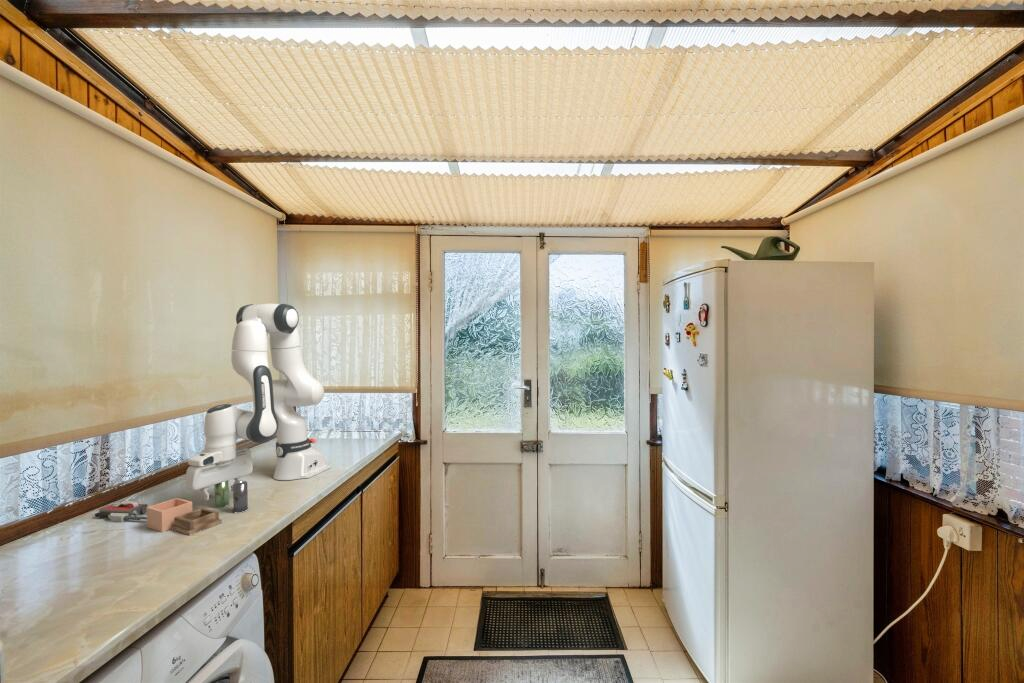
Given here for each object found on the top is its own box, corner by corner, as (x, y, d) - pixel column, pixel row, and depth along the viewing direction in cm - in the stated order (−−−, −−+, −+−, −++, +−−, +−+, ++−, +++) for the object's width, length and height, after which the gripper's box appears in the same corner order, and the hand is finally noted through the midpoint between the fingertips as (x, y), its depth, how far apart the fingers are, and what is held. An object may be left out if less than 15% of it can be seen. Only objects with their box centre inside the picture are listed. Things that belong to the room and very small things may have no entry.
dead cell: (242, 507, 147) (242, 478, 147) (250, 509, 145) (249, 480, 145) (230, 511, 143) (230, 482, 143) (238, 513, 142) (237, 484, 141)
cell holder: (204, 517, 139) (203, 506, 139) (221, 522, 135) (221, 511, 135) (171, 529, 131) (171, 517, 131) (189, 535, 127) (189, 523, 127)
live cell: (224, 502, 151) (223, 474, 151) (231, 504, 150) (230, 476, 149) (212, 506, 148) (211, 478, 147) (219, 508, 146) (218, 480, 146)
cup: (177, 516, 140) (176, 497, 140) (192, 521, 136) (192, 501, 136) (147, 527, 133) (146, 507, 132) (162, 532, 129) (161, 511, 129)
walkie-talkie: (87, 522, 138) (144, 524, 135) (86, 508, 138) (144, 510, 135) (115, 510, 146) (170, 512, 144) (114, 497, 146) (169, 499, 144)
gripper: (244, 445, 159) (245, 484, 159) (182, 460, 140) (183, 504, 140) (256, 447, 156) (257, 486, 156) (194, 462, 138) (195, 507, 138)
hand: (221, 495), depth 148 cm, fingers open, 7 cm apart
